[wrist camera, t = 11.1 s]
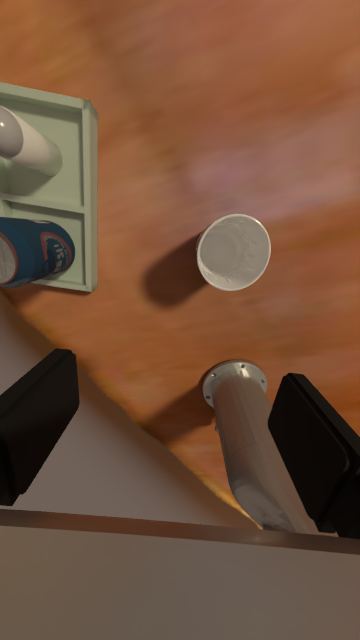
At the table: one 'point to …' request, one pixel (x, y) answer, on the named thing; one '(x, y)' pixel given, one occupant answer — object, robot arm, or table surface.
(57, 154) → the shaker
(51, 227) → the soda can
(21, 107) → the caddy
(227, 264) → the white cup
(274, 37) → the table surface
